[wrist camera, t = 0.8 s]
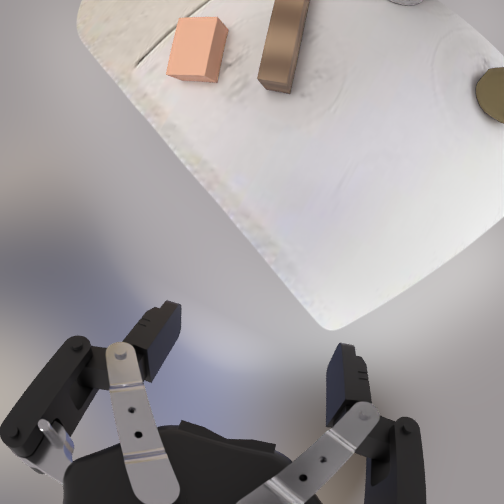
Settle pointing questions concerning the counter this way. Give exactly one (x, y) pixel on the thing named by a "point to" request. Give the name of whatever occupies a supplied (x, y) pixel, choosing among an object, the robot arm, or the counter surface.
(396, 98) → the counter surface
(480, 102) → the squeeze bottle
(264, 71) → the walnut plank
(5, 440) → the robot arm
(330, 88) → the counter surface
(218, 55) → the terracotta block
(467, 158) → the counter surface
